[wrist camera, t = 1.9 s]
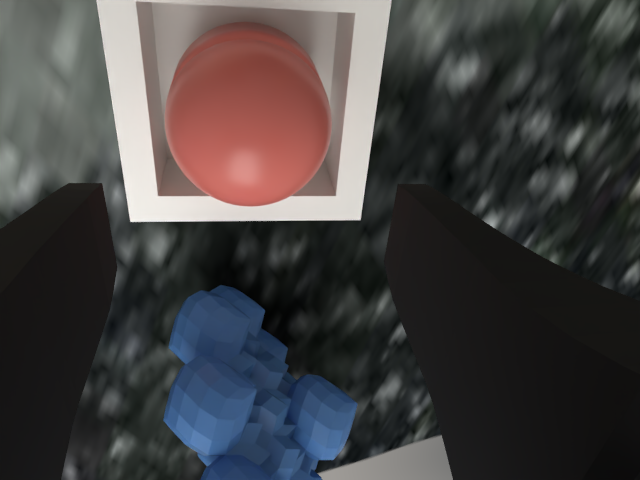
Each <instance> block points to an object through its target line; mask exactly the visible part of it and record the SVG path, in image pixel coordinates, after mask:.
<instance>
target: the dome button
mask: <svg viewBox="0 0 640 480" xmlns="http://www.w3.org/2000/svg"><path fill="white" fill-rule="evenodd" d="M165 131H166V137H167V141H168V145H169V148H170V151H171V153H172V155H173V157H174V160H175V161H176V163H177V165H178V166H179V168H180V169H181V171H182V172H183V173H184V175H185V176H186V177H187V178H188V179H189V180H190V181H191V182H192V183H193V184H194V185H195V186H196V187H197V188H199V189H200V190H202V191H203V192H204V193H206V194H208V195H209V196H211V197H213V198H215V199H217V200H220V201H222V202H225V203H229V204H232V205H238V206H249V207H252V206H263V205H269V204H272V203H276V202H279V201H281V200H284V199H286V198H288V197H290V196H291V195H293V194H295V193H296V192H297V191H299V190H300V189H301V188H303V187H304V186H305V185H306V184H307V183H308V182H309V181H310V180H311V179H312V178H313V176H314V175H315V174H316V173H317V171H318V170H319V168H320V166H321V165H322V163H323V160H324V158H325V156H326V154H327V151H328V148H329V144H330V138H331V131H332V117H331V109H330V105H329V101H328V97H327V94H326V92H325V89H324V87H323V84H322V82H321V79H320V77H319V74H318V72H317V70H316V67H315V65H314V63H313V61H312V60H311V58H310V56H309V55H308V54H307V52H306V51H305V50H304V48H303V47H302V46H301V45H300V44H299V43H298V42H297V41H295V40H294V39H293V38H291V37H290V36H289V35H287V34H286V33H284V32H282V31H280V30H278V29H276V28H274V27H271V26H268V25H264V24H261V23H254V22H235V23H228V24H225V25H221V26H218V27H216V28H214V29H211V30H209V31H207V32H206V33H204V34H203V35H201V36H200V37H198V38H197V39H196V40H195V41H194V42H193V43H192V44H191V45H190V46H189V47H188V48H187V50H186V51H185V52H184V54H183V55H182V57H181V59H180V60H179V63H178V65H177V67H176V70H175V73H174V76H173V80H172V83H171V86H170V90H169V93H168V97H167V101H166V108H165Z"/></svg>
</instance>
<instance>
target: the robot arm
mask: <svg viewBox="0 0 640 480" xmlns="http://www.w3.org/2000/svg"><path fill="white" fill-rule="evenodd" d="M384 264H385V268H386V273H387V277H388V282H389V286H390V290H391V294H392V298H393V301H394V304H395V307H396V309H397V312H398V314H399V317H400V319H401V322H402V325H403V327H404V330H405V332H406V335H407V337H408V340H409V342H410V345H411V347H412V350H413V352H414V355H415V357H416V360H417V362H418V365H419V367H420V370H421V372H422V375H423V377H424V380H425V382H426V385H427V388H428V390H429V393H430V396H431V399H432V402H433V405H434V409H435V413H436V416H437V420H438V423H439V427H440V431H441V434H442V438H443V441H444V445H445V449H446V453H447V457H448V461H449V465H450V469H451V472H452V476H453V480H640V301H638V300H636V299H633V298H631V297H628V296H626V295H623V294H621V293H618V292H616V291H613V290H611V289H608V288H606V287H603V286H601V285H599V284H597V283H594V282H592V281H590V280H588V279H585V278H583V277H581V276H579V275H577V274H575V273H573V272H571V271H569V270H567V269H565V268H563V267H561V266H559V265H557V264H555V263H553V262H551V261H549V260H547V259H545V258H543V257H541V256H540V255H538V254H536V253H534V252H533V251H531V250H529V249H527V248H526V247H524V246H522V245H521V244H519V243H517V242H515V241H514V240H512V239H510V238H509V237H507V236H506V235H504V234H502V233H501V232H499V231H498V230H496V229H495V228H493V227H491V226H490V225H488V224H487V223H485V222H484V221H482V220H481V219H479V218H478V217H476V216H475V215H473V214H472V213H470V212H469V211H467V210H466V209H464V208H463V207H461V206H460V205H458V204H457V203H456V202H454V201H453V200H451V199H450V198H448V197H446V196H445V195H443V194H442V193H440V192H439V191H437V190H435V189H434V188H432V187H430V186H428V185H426V184H398V187H397V193H396V198H395V204H394V209H393V215H392V220H391V226H390V231H389V237H388V242H387V248H386V253H385V259H384ZM116 271H117V263H116V258H115V252H114V247H113V241H112V235H111V230H110V224H109V219H108V213H107V208H106V202H105V197H104V191H103V186H102V183H69V184H67V185H65V186H63V187H62V188H60V189H58V190H57V191H55V192H54V193H52V194H51V195H49V196H48V197H46V198H45V199H44V200H42V201H41V202H39V203H38V204H36V205H35V206H33V207H32V208H31V209H29V210H28V211H26V212H25V213H23V214H22V215H20V216H19V217H18V218H16V219H15V220H13V221H12V222H10V223H9V224H7V225H6V226H4V227H3V228H1V229H0V480H61V476H62V472H63V467H64V462H65V458H66V453H67V448H68V443H69V439H70V434H71V429H72V425H73V422H74V418H75V414H76V411H77V407H78V404H79V401H80V398H81V395H82V392H83V389H84V386H85V383H86V380H87V377H88V374H89V371H90V368H91V365H92V362H93V359H94V356H95V353H96V350H97V347H98V344H99V341H100V338H101V335H102V332H103V329H104V326H105V323H106V320H107V317H108V313H109V310H110V306H111V301H112V295H113V290H114V284H115V277H116Z"/></svg>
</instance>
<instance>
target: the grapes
mask: <svg viewBox="0 0 640 480" xmlns="http://www.w3.org/2000/svg"><path fill="white" fill-rule="evenodd" d="M264 314H265V310H264V309H263V308H262V307H261V306H259V305H258V304H257V303H256V302H255V301H254V300H252V299H251V298H249V297H248V296H246V295H245V294H243V293H242V292H240V291H239V290H237V289H235V288H233V287H228V286H224V285H220V286H218V287H216V288H215V289H213V290H211V291H210V292H208V291H203V290H200V291H199V292H197V293H195V294H193V295H191V296H189V297H188V298H187V299H186V300H185V301H184V303H183V305H182V307H181V309H180V310H179V312H178V314H177V316H176V318H175V322H174V326H173V330H172V334H171V338H170V343H169V349H170V350H171V351H172V352H173V353H174V354H176V355H177V356H178V357H179V358H180V359H181V360H182V361H183V362H184V363H185V364H186V365H184V366H183V367H182V368H181V369H180V371H179V373H178V375H177V377H176V379H175V381H174V382H173V384H172V386H171V390H170V394H169V398H168V402H167V406H166V410H165V415H164V419H163V420H164V422H165V423H166V424H167V425H168V426H169V427H170V429H171V430H172V431H173V432H174V433H175V434H176V435H177V436H178V437H179V438H180V439H181V440H182V442H183V443H184V444H185V445H187V446H188V447H190V448H192V449H193V450H195V451H196V452H198V455H197V456H198V457H199V458H200V459H201V460H202V461H203V462H204V464H205V465H206V466H207V467H206V469H205V471H204V473H203V475H202V477H201V480H322V479H321V477H320V476H319V475H318V474H317V473H316V472H315V471H314V470H315V469H316V466H317V462H318V460H334V459H335V457H336V456H337V455H338V454H339V453H340V452H341V450H342V449H343V447H344V445H345V443H346V440H347V438H348V435H349V432H350V429H351V426H352V423H353V420H354V416H355V412H356V408H357V403H356V402H355V401H354V400H353V399H351V398H350V397H349V396H348V395H347V394H346V393H345V392H343V391H342V390H340V389H339V388H337V387H336V386H334V385H333V384H332V383H330V382H329V381H327V380H325V379H324V378H322V377H321V376H317V375H309V374H307V375H304V376H302V377H300V378H299V379H298V380H296V379H295V378H294V377H292V376H291V375H290V374H289V373H288V372H287V369H288V365H287V364H285V359H286V355H287V351H288V348H287V347H286V346H285V345H284V344H283V343H282V342H280V341H279V340H278V339H277V338H275V337H274V336H272V335H271V334H269V333H268V332H267V331H265V330H263V329H262V328H261V325H262V322H263V318H264Z"/></svg>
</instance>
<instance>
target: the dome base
mask: <svg viewBox="0 0 640 480" xmlns="http://www.w3.org/2000/svg"><path fill="white" fill-rule="evenodd" d="M391 1H392V0H97V7H98V13H99V20H100V26H101V33H102V39H103V46H104V53H105V59H106V66H107V72H108V79H109V85H110V92H111V98H112V105H113V111H114V118H115V124H116V131H117V137H118V144H119V150H120V157H121V163H122V170H123V176H124V183H125V189H126V196H127V202H128V209H129V215H130V222H176V221H304V220H361V213H362V206H363V198H364V191H365V184H366V177H367V170H368V163H369V156H370V149H371V142H372V135H373V128H374V121H375V114H376V107H377V100H378V93H379V86H380V79H381V72H382V64H383V57H384V50H385V43H386V36H387V29H388V22H389V15H390V8H391ZM235 22H254V23H261V24H264V25H268V26H271V27H274V28H276V29H278V30H280V31H282V32H284V33H286V34H287V35H289V36H290V37H291V38H293V39H294V40H295V41H297V42H298V43H299V44H300V45H301V46H302V47H303V48H304V50H305V51H306V52H307V54H308V55H309V56H310V58H311V60H312V61H313V63H314V65H315V67H316V70H317V72H318V74H319V77H320V79H321V82H322V84H323V87H324V89H325V92H326V94H327V97H328V101H329V105H330V109H331V117H332V131H331V138H330V144H329V148H328V151H327V154H326V156H325V158H324V160H323V163H322V165H321V166H320V168H319V170H318V171H317V173H316V174H315V175H314V176H313V178H312V179H311V180H310V181H309V182H308V183H307V184H306V185H305V186H304V187H303V188H301V189H300V190H299V191H297V192H296V193H295V194H293V195H291V196H290V197H288V198H286V199H284V200H281V201H279V202H276V203H272V204H269V205H263V206H252V207H249V206H238V205H232V204H229V203H225V202H222V201H220V200H217V199H215V198H213V197H211V196H209V195H208V194H206V193H204V192H203V191H202V190H200V189H199V188H197V187H196V186H195V185H194V184H193V183H192V182H191V181H190V180H189V179H188V178H187V177H186V176H185V175H184V173H183V172H182V171H181V169H180V168H179V166H178V165H177V163H176V161H175V160H174V157H173V155H172V153H171V151H170V148H169V145H168V141H167V137H166V131H165V108H166V101H167V97H168V93H169V90H170V86H171V83H172V80H173V76H174V73H175V70H176V67H177V65H178V63H179V60H180V59H181V57H182V55H183V54H184V52H185V51H186V50H187V48H188V47H189V46H190V45H191V44H192V43H193V42H194V41H195V40H196V39H197V38H198V37H200V36H201V35H203V34H204V33H206V32H207V31H209V30H211V29H214V28H216V27H218V26H221V25H225V24H228V23H235Z"/></svg>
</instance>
